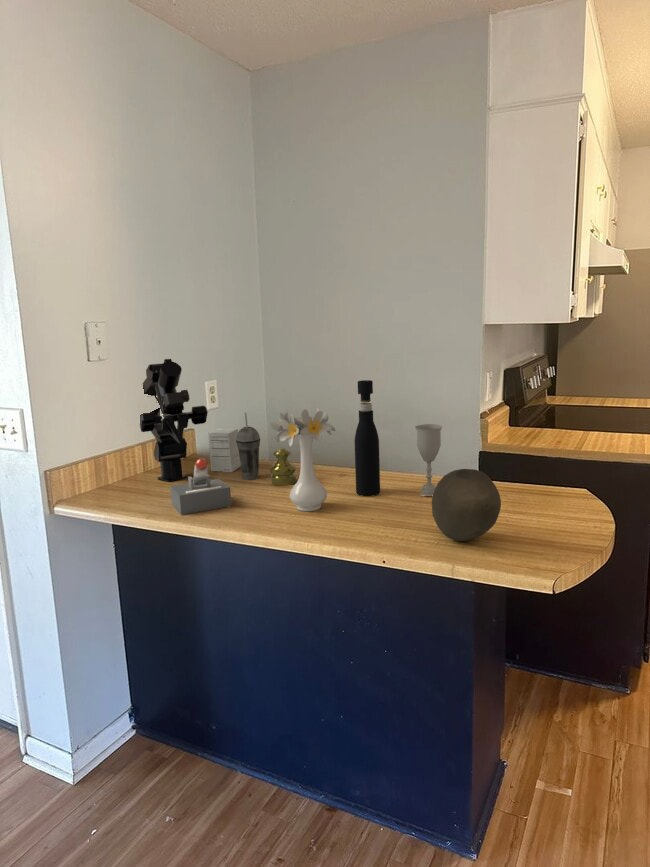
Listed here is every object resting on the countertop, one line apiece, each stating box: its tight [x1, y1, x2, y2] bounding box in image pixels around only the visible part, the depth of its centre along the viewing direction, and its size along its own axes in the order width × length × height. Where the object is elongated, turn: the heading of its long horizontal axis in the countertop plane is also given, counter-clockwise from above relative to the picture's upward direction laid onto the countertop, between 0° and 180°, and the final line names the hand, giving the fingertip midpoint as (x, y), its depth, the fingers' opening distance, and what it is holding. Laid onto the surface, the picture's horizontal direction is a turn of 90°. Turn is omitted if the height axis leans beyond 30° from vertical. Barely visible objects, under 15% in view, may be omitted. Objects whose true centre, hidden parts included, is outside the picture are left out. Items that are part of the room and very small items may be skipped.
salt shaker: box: [269, 447, 297, 486], centre depth 181 cm, size 7×7×10 cm
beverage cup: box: [236, 412, 261, 481], centre depth 186 cm, size 7×7×20 cm
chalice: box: [414, 423, 443, 496], centre depth 163 cm, size 7×7×18 cm
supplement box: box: [208, 427, 241, 473], centre depth 199 cm, size 7×7×13 cm
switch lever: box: [192, 457, 209, 486], centre depth 159 cm, size 3×3×8 cm
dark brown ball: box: [431, 468, 502, 542], centre depth 130 cm, size 14×14×15 cm
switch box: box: [169, 473, 232, 516], centre depth 162 cm, size 10×13×8 cm
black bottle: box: [354, 379, 381, 497], centre depth 165 cm, size 6×6×30 cm
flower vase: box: [269, 407, 336, 512], centre depth 155 cm, size 13×18×25 cm
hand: (180, 442), depth 176 cm, fingers closed
